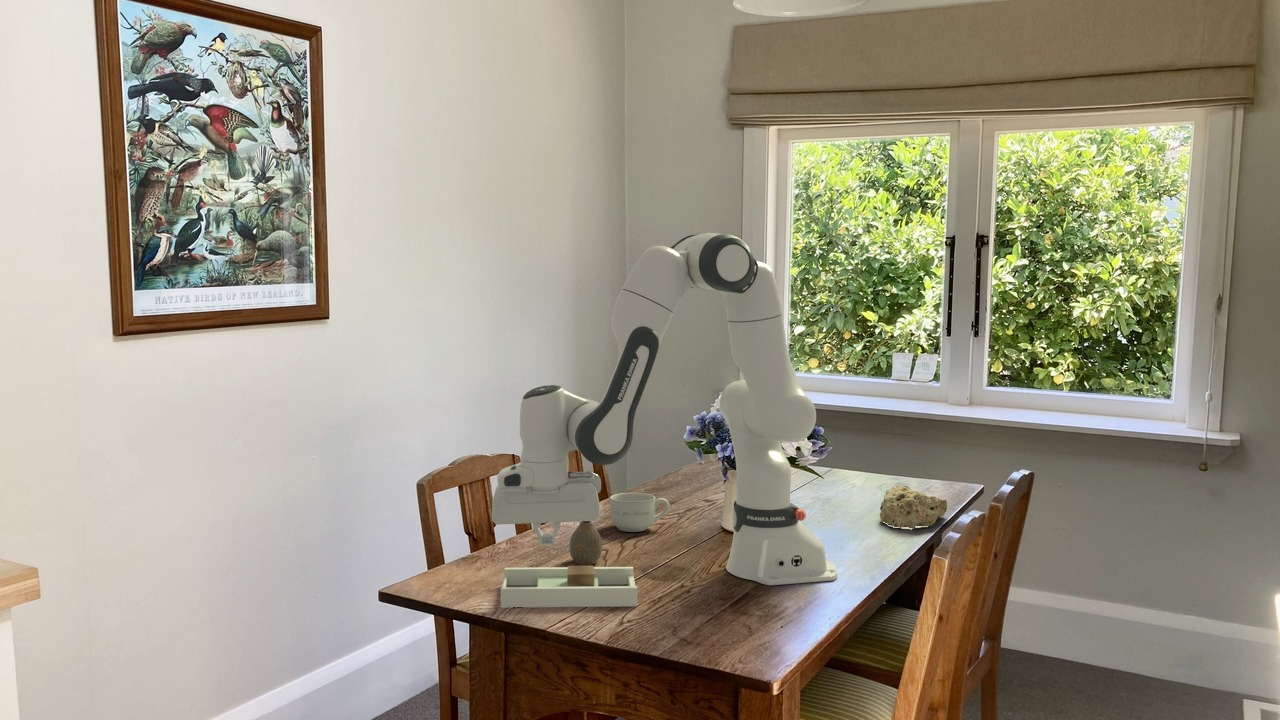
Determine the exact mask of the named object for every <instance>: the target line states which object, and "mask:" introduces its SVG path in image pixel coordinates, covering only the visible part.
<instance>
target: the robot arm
mask: <svg viewBox="0 0 1280 720" xmlns="http://www.w3.org/2000/svg"><path fill="white" fill-rule="evenodd" d="M690 289H697V290H700V291H707V292H713V291H719V293H720V294H721V296H722V298H723V301H724V304H725V313H726V314H725V315H726V321H727V330H728V339H729V345H730V354H731V357H732V359H733V362H734V363H735V365H736V366H737V367H738V368H739V370H740V373H741V375H742V376H743V379H741V380H735V381H733V382H731V383H729V384H728V385H726V387H725V388H724V389H723V391H722V393H721V395H720V399H719V410H720V414H721V415H722V417H723V418H724V420H725V423H726V425H727V427H728V429H729V433H730V438H731V442H732V446H733V447H732V448H733V451H734V457H735V458H734V459H735V465H736V466H735V467H736V469H735V470H736V481H735V482H736V483H735V485H736V488H735V489H736V491H735V501H734V502H733V508H732V528H733V536H732V543H731V547H730V553H729V557H728V560H727V563H726V566H725V568H726V571H727V572H728V573H729V574H731V575H733V576H736V577H737V578H740V579H745V580H751V581H754V582H757V583H760V584H763V585H765V586H779V585H790V584H792V585H793V584H804V583H816V582H829V581H835V580H837V577H838V571H837V568H836V566H835V564H834V563H833V562H832V561H830V560H829V559H827V554H826V550H825V547H824V544H823V542H822V540H821V539H820V538H819V536H817V535H816V534H815V533H813V532H812V531H811V530H810V529H808V528H807V527H806V526H804V524H802V523H801V522H802V521H804V520H805V519H806V517H807V514H806V512H805V511H804V510H803V509H801V508H799V507H798V506H797V505H795V504H793V502H791V494H792V493H791V489H792V488H791V487H792V467H791V464H790V462H789V460H788V458H787V457H786V455H785V453H784V450H783V447H782V443H785V444H787V443H798V442H801V441H804V440H806V439H807V438H808V437H809V436H810V435H811V434H812V432H813V430H814V429H815V425H816V422H817V410H816V406H815V404H814V403H813V401H812V400H811V399H810V398H809V397H808V395H807V394H806V393H805V392H804V389H803V388H802V386H801V383H800V381H799V379H798V377H797V374H796V372H795V369H794V367H793V363H792V362H791V358H790V355H789V351H788V346H787V339H786V331H785V323H784V315H783V314H784V313H783V307H782V301H781V296H780V292H779V288H778V284H777V281H776V278H775V275H774V272H773V270H772V268H771V267H770V266H769V265H768V264H766V263H764V262H762V261H758V260H756V258H755V257H754V254H753V252H752V250H751V249H750V247H749V246H748V244H747V243H746V242H745V241H744V240H742V239H741V238H739V237H738V236H736V235H732V234H727V233H717V232H706V233H701V234H690V235H687V236H685V237H683V238H681V239H679V240H678V241H677V242H675V244H673V245H672V246H670V247H669V246H664V245H653V246H650V247H649V248H647V249H646V250H644V252H643V253H642V254H641V255H640V257H639V258H638V260H637V261H636V263H635V264H634V265H633V267H632V268H631V271H630V272H629V274H628V275H627V278H626V279H625V281H624V284H623V285H622V286H621V289H620V291H619V293H618V295H617V298H616V300H615V302H614V305H613V308H612V313H611V316H610V328H611V330H612V333H613V336H614V337H615V340H616V344H617V351H618V354H617V361H616V364H615V367H614V370H613V372H612V375H611V376H610V380H609V382H608V385H607V387H606V390H605V391H604V395H603V397H602V398H601V401H600V402H599V401H596V400H592V399H589V398H588V399H587V398H584V397H581V396H579V395H576V394H574V393H571V392H569V391H568V390H566V389H565V388H563V387H562V386H560V385H556V384H551V385H550V384H549V385H541V386H538V387H535V388H531V389H530V390H528V391H527V392H526V393H525V394H524V395H523V397H522V399H521V404H520V412H519V436H520V437H519V438H520V440H521V445H522V451H521V454H520V462H518V463H516V464H513V465H510V466H507V467H504V468H502V469H500V471H499V473H498V474H497V486H496V488H495V491H494V494H493V497H492V504H491V506H492V507H491V520H492V521H493V523H494V524H495V525H496V526H497V525H518V524H519V525H520V524H521V525H522V524H532V529H533V531H534V533H535V534H536V536H537V537H538V541H539V542H538V545H539V546H556V536H557V534H558V532H559V530H560V528H561V523H572V522H573V523H575V522H576V523H577V522H579V523H580V522H581V521H591V522H596V521H597V520H598V519H599V518H600V517H601V510H600V501H599V495H598V494H600V493H601V490H602V480H601V477H600V475H598V474H596V473H593V471H569V469H570V468H569V453H570V452H571V451H578V452H580V453H581V455H582V457H583V458H585V460H587V461H588V462H589V463H592V464H593V465H599V466H607V465H612V464H615V463H617V462H618V461H620V460H621V459H623V457H625V455H626V454H627V453H628V451H629V450H630V447H632V443H633V437H634V423H635V422H634V421H635V416H636V415H635V414H636V412H637V409H638V406H639V403H640V401H641V399H642V396H643V393H644V391H645V388H646V385H647V383H648V380H649V377H650V375H651V373H652V369H653V366H654V365H655V361H656V358H657V354H658V351H659V349H660V346H661V344H662V341H663V338H664V336H665V333H666V331H667V329H668V328H669V325H670V323H671V320H672V318H673V316H674V314H675V313H676V310H677V308H678V305H679V302H680V300H681V299H682V298H683V296H684V294H685V293H686V292H688V290H690ZM799 521H801V522H799ZM546 523H547V524H549V523H550V524H551V523H552V528H553V530H552V531H551V533H543V532H542V530H541V525H542V524H546Z"/></svg>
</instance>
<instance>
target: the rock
mask: <svg viewBox="0 0 1280 720" xmlns="http://www.w3.org/2000/svg"><path fill="white" fill-rule="evenodd" d="M883 496H884V497H883V500H882V502H880V507H879V510H880V513H879V518H880V520H881V523H882V522H885V523H887V524H888V525H891V526H894V527H909V528H914V527H915V526H929V527H930V526H931V527H932V525H933V524H935V523H936V521H937V519H939V518H942V517H941V516H943V517H944V516H945V514H946V512H947V510H948V502H947V499H942V498H939V497H937V496H933V495H932V496H929V495H927V494H925V493H921V492H919V491H916V490H912V489H911V488H910V487H909V486H907V485H906V486H905V485H904V486H903V485H897V486H893V487H892V488H891V489H886V491H885V494H884V495H883ZM914 529H915V528H914Z"/></svg>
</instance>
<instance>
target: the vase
mask: <svg viewBox="0 0 1280 720" xmlns="http://www.w3.org/2000/svg"><path fill="white" fill-rule="evenodd" d="M568 547H569V548H568V549H569V554H570V556H571V559H572V561H573V562H575V563H576V564H577V565H578V566H593V565H595V564H596V563H597V562H598V560H600V558H601V555H602V552H603V540H602V536H601V534H600V533H599V531H598V530H597V529H596V527H595V526H594V524H593V521H579V524H578V526H577V527H576V529H575V530H574V531H573V532H572V534H571V537H570V539H569V545H568Z"/></svg>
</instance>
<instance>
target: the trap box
mask: <svg viewBox="0 0 1280 720" xmlns="http://www.w3.org/2000/svg"><path fill="white" fill-rule="evenodd" d="M567 573H568V566H567V567H564V566H562V567H561V566H556V567H552V566H551V567H549V566H548V567H504V577H503V582H502V587H500V608H501V609H505V608H506V609H508V608H509V607H510V608H511V609H512V608H513V607H516V608H515V609H518V608H517V607H523V608H590V607H592V608H597V607H598V608H601V607H603V608H604V607H606V608H607V607H608V608H609V607H612V608H613V607H614V608H615V607H638V595H639V594H638V590H639V589H638V588H639V587H638V585H636V583H635V582H636V581H635V577H634V566H594V586H591V587H567ZM510 608H509V609H510Z"/></svg>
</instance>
